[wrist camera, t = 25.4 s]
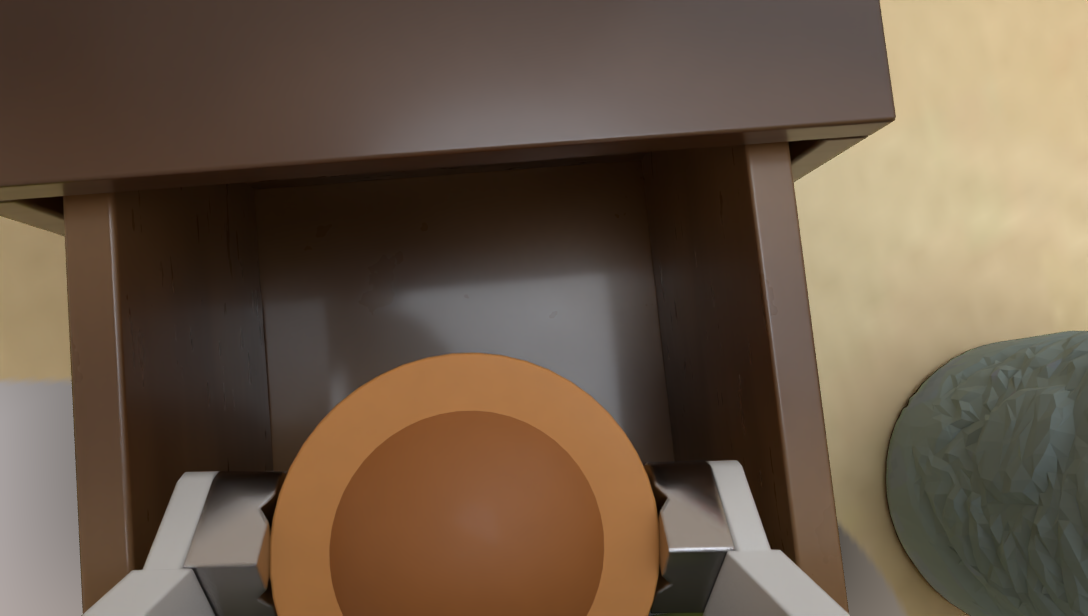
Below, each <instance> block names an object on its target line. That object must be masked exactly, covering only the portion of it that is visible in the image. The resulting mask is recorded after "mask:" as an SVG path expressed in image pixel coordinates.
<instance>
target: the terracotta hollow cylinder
mask: <svg viewBox="0 0 1088 616" xmlns="http://www.w3.org/2000/svg"><path fill="white" fill-rule="evenodd" d="M658 576H659V526H658V513H657V508H656V502H655V498H654V494H653V491H652V488H651V485H650V481H649V478H648V475H647V473H646V471H645V469H644V466H643V464H642V462H641V460H640V458H639V455H638V453H637V451H636V450H635V448H634V447H633V445H632V443H631V442H630V440H629V439H628V437H627V435H626V434H625V432H624V431H623V430H622V428H621V427H620V426H619V425H618V423H617V422H616V421H615V420H614V419H613V417H612V416H611V415H610V414H609V412H607V411H606V410H605V409H604V408H603V407H602V406H601V405H600V404H599V403H598V402H597V401H596V400H595V399H594V398H593V397H592V396H590V395H589V394H588V393H586V392H585V391H584V390H582V389H581V388H579V387H578V386H577V385H575V384H574V383H572V382H571V381H569V380H567V379H566V378H564V377H562V376H560V375H558V374H556V373H555V372H553V371H551V370H549V369H546V368H544V367H541V366H538V365H536V364H533V363H530V362H528V361H525V360H520V359H516V358H512V357H508V356H504V355H496V354H486V353H451V354H445V355H439V356H433V357H427V358H423V359H420V360H417V361H413V362H410V363H407V364H403V365H401V366H399V367H396V368H394V369H392V370H390V371H387V372H385V373H383V374H381V375H379V376H377V377H375V378H374V379H372V380H370V381H369V382H367V383H365V384H364V385H362V386H360V387H359V388H357V389H356V390H355V391H353V392H352V393H351V394H350V395H348V396H347V397H346V398H345V399H343V400H342V401H341V402H340V403H338V404H337V405H336V406H335V407H334V408H333V409H332V410H331V411H330V412H329V413H328V414H327V415H326V416H325V417H324V418H323V420H322V421H321V422H320V423H319V424H318V425H317V426H316V428H315V429H314V430H313V432H312V433H311V434H310V436H309V437H308V438H307V440H306V441H305V442H304V444H303V445H302V447H301V449H300V450H299V452H298V454H297V456H296V457H295V459H294V461H293V463H292V464H291V466H290V468H289V471H288V473H287V475H286V478H285V480H284V483H283V485H282V488H281V490H280V493H279V496H278V500H277V504H276V508H275V511H274V515H273V520H272V527H271V538H270V581H271V589H272V596H273V601H274V604H275V608H276V612H277V615H278V616H648V615H649V612H650V609H651V606H652V603H653V600H654V595H655V590H656V585H657V581H658Z"/></svg>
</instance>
